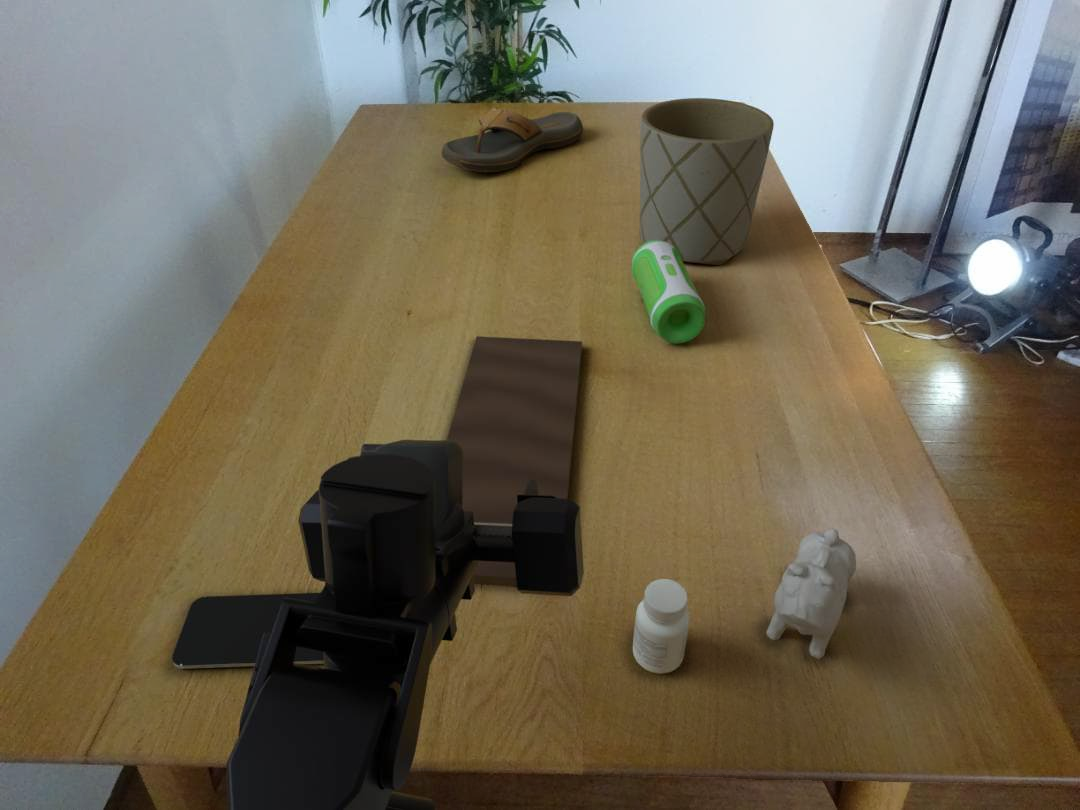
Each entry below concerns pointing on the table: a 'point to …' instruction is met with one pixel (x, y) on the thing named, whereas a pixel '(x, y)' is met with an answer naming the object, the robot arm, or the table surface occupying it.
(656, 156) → the planter
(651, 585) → the pill bottle
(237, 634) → the smartphone
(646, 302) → the speaker
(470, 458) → the shelf board
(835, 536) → the dog figurine
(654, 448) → the table surface
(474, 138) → the sandal
